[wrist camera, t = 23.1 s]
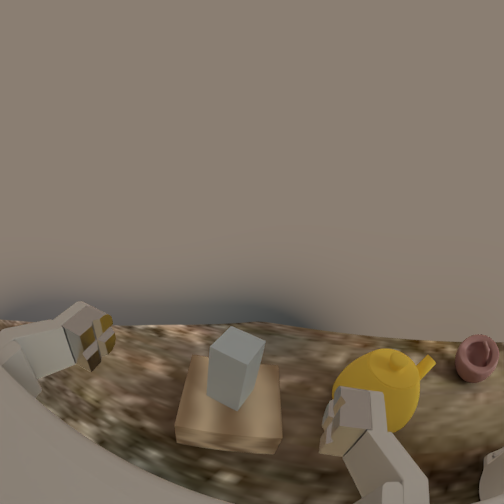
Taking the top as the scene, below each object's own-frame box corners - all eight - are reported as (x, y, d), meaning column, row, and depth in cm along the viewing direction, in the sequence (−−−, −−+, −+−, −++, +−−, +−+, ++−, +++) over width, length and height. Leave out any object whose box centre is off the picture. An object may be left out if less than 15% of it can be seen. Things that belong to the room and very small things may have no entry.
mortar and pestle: (438, 367, 51) (461, 329, 47) (462, 356, 54) (482, 321, 50) (466, 399, 41) (494, 361, 36) (487, 383, 44) (511, 348, 39)
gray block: (253, 389, 38) (265, 341, 34) (237, 411, 34) (247, 364, 30) (224, 374, 40) (231, 325, 36) (206, 395, 35) (209, 346, 31)
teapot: (392, 370, 51) (420, 319, 45) (429, 421, 37) (470, 371, 32) (311, 388, 46) (336, 332, 40) (346, 458, 32) (388, 410, 26)
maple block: (271, 387, 46) (278, 365, 43) (273, 455, 33) (282, 438, 30) (192, 377, 45) (192, 354, 43) (177, 443, 32) (174, 425, 30)
